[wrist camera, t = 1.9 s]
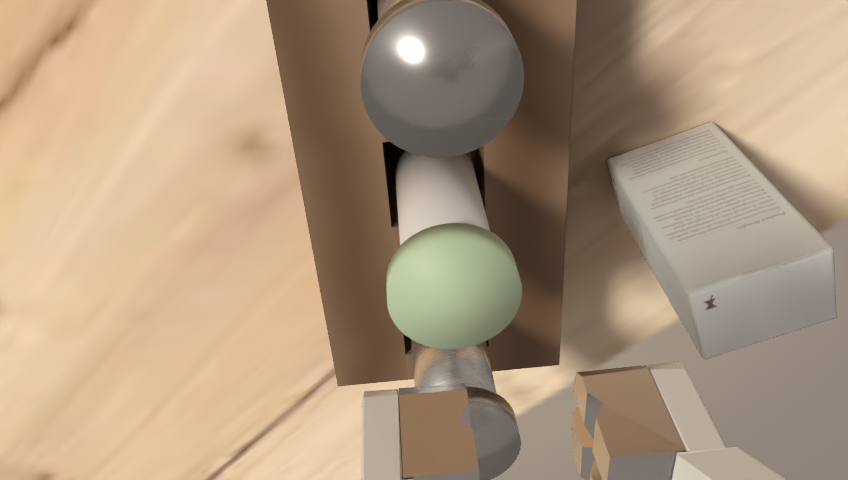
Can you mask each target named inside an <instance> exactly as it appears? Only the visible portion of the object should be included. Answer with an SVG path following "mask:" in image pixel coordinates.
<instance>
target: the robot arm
mask: <svg viewBox="0 0 848 480" xmlns="http://www.w3.org/2000/svg"><path fill="white" fill-rule="evenodd" d="M574 394H575V397H576V400H577V404H578V407H577V408H576V409H575V410H574V411H573V413H572V438H573V448H574V453H575V457H576V462H577V465H578V469H579V473H580V476H581V477H582V478H584V479H585V480H786V479H784V478H783V477H781V476H779V475H778V474H777V473H775V472H774V471H772V470H771V469H769V468H768V467H766V466H765V465H763V464H762V463H760V462H759V461H757V460H756V459H754V458H753V457H751V456H750V455H748V454H747V453H745V452H744V451H742V450H741V449H740V448H738V447H732V448H727V447H726V445H725V443H724V442H723V440H722V437H721V435H720V434H719V432H718V430H717V428H716V426H715V424H714V422H713V420H712V419H711V416H710V415H709V413H708V411H707V409H706V407H705V405H704V403H703V401H702V399H701V397H700V396H699V394H698V392H697V390H696V388H695V386H694V384H693V382H692V380H691V378H690V376H689V375H688V373H687V371H686V369H685V367H684V366H683V365H682V364H681V363H679V362H671V363H661V364H652V365H645V366H633V367H624V368H614V369H605V370H595V371H586V372H577V374H576V376H575V381H574ZM362 480H479V467H478V460H477V453H476V447H475V440H474V433H473V429H472V428H471V427H470V413H469V401H468V395H467V389H466V384H454V385H440V386H426V387H412V388H399V391H398V389H394V390H380V391H365V392H364V394H363V399H362Z"/></svg>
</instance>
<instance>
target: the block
mask: <svg viewBox="0 0 848 480" xmlns="http://www.w3.org/2000/svg"><path fill="white" fill-rule="evenodd" d="M266 1H267V7H268V12H269V18H270V23H271V28H272V34H273V39H274V44H275V50H276V55H277V61H278V66H279V71H280V77H281V82H282V88H283V93H284V98H285V104H286V109H287V114H288V120H289V125H290V131H291V136H292V141H293V147H294V152H295V157H296V163H297V168H298V174H299V179H300V184H301V190H302V195H303V200H304V206H305V211H306V217H307V222H308V227H309V233H310V238H311V244H312V249H313V254H314V260H315V265H316V270H317V276H318V281H319V287H320V292H321V297H322V303H323V308H324V313H325V319H326V324H327V330H328V335H329V340H330V346H331V351H332V357H333V362H334V367H335V373H336V378H337V383H338V386H346V385H356V384H366V383H377V382H387V381H397V380H408V379H414V369H413V356H412V343H411V339H410V338H409V337H407V336H406V335H404V334H403V333H402V332H401V331H400V330H399V329H398V328H397V326H396V325H395V324H394V322H393V320H392V319H391V316H390V314H389V311H388V306H387V287H386V274H387V269H388V265H389V262H390V260H391V258H392V256H393V255H394V253H395V252H396V250H397V249H398V248H399V247H400V237H399V223H398V209H397V194H396V180H395V170H396V166H390V167H388V160H387V151H386V142H390V141H389V140H387V139H386V138H385V137H384V136H383V135H382V134H381V133H380V132H379V131H378V130H377V129H376V127H375V126H374V124H373V123H372V121H371V120H370V118H369V116H368V114H367V112H366V109H365V106H364V103H363V99H362V94H361V58H362V53H363V48H364V45H365V42H366V40H367V37H368V35H369V33H370V31H371V30H372V28H373V26H374V25H375V24H376V22H377V21H378V17H372V11H371V2H370V0H266ZM481 1H483V2H485V3H486V4H487V5H489V6H490V7H491V8H493V9H494V10H495V11H496V12H497V13H498V14H499V16H500V17H501V18H502V19H503V21H504V22H505V23H506V25H507V27H508V29H509V31H510V32H511V34H512V36H513V38H514V40H515V42H516V44H517V46H518V48H519V51H520V54H521V57H522V62H523V67H524V86H523V92H522V96H521V100H520V102H519V105H518V108H517V110H516V112H515V114H514V116H513V117H512V119H511V120H510V122H509V123H508V124H507V126H506V127H505V128H504V129H503V130H502V131H501V132H500V133H499V134H498V135H497V136H496V137H495V138H494V139H492V140H491V141H490V142H488V143H487V144H485V145H484V146H482V147H480V148H478V149H476V150H474V151H471V152H470V158H471V160H472V163H473V167H474V171H475V175H476V179H477V182H478V186H479V190H480V194H481V198H482V202H483V206H484V210H485V213H486V217H487V221H488V225H489V229H490V231H491V232H492V233H494V234H495V235H497V236H498V237H499V238H501V239H502V240H503V241H504V242H505V244H506V245H507V246H508V247H509V249H510V250H511V252H512V254H513V257H514V259H515V263H516V266H517V270H518V273H519V276H520V280H521V284H522V299H521V303H520V306H519V309H518V311H517V313H516V315H515V317H514V318H513V320H512V321H511V322H510V323H509V325H508V326H507V327H506V328H504V329H503V330H502V331H501V332H500V333H498V334H497V335H496V336H494V337H492V338H491V339H489V340H487V341H486V345H487V350H488V355H489V360H490V365H491V370H492V371H501V370H511V369H521V368H532V367H542V366H552V365H559V356H560V335H561V315H562V294H563V274H564V253H565V232H566V212H567V191H568V170H569V150H570V129H571V109H572V88H573V67H574V47H575V26H576V5H577V0H481Z"/></svg>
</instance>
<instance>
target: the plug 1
mask: <svg viewBox="0 0 848 480" xmlns="http://www.w3.org/2000/svg"><path fill="white" fill-rule="evenodd" d="M377 5H378V21H377V22H376V24H375V25H374V26H373V28H372V30H371V31H370V33H369V35H368V37H367V40H366V42H365V45H364V48H363V53H362V58H361V94H362V99H363V103H364V106H365V109H366V112H367V114H368V116H369V118H370V120H371V121H372V123H373V124H374V126H375V127H376V129H377V130H378V131H379V132H380V133H381V134H382V135H383V136H384V137H385V138H386V139H387V140H389V141H390V142H391V143H393V144H394V145H396V146H397V147H399V148H401V149H403V150H405V151H407V152H410V153H413V154H416V155H420V156H425V157H433V158H447V157H454V156H459V155H462V154H466V153H469V152H471V151H474V150H476V149H478V148H480V147H482V146H484V145H485V144H487V143H488V142H490V141H491V140H492V139H494V138H495V137H496V136H497V135H498V134H499V133H500V132H501V131H502V130H503V129H504V128H505V127H506V126H507V124H508V123H509V122H510V120H511V119H512V117H513V116H514V114H515V112H516V110H517V108H518V105H519V102H520V100H521V96H522V92H523V86H524V67H523V62H522V57H521V54H520V51H519V48H518V46H517V44H516V42H515V40H514V38H513V36H512V34H511V32H510V31H509V29H508V27H507V25H506V23H505V22H504V21H503V19H502V18H501V17H500V16H499V14H498V13H497V12H496V11H495V10H494V9H493V8H491V7H490V6H489V5H487V4H486V3H485V2H483V1H481V0H377Z"/></svg>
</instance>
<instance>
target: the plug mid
mask: <svg viewBox="0 0 848 480" xmlns="http://www.w3.org/2000/svg"><path fill="white" fill-rule="evenodd" d="M395 180H396V194H397V209H398V223H399V237H400V247H399V248H398V249H397V250H396V252H395V253H394V255H393V256H392V258H391V260H390V262H389V265H388V269H387V274H386V287H387V306H388V311H389V314H390V316H391V319H392V320H393V322H394V324H395V325H396V326H397V328H398V329H399V330H400V331H401V332H402V333H403V334H404V335H406V336H407V337H409V338H410V339H412V340H414V341H416V342H417V343H420V344H423V345H425V346H429V347H433V348H439V349H460V348H466V347H470V346H474V345H477V344H480V343H483V342H485V341H487V340H489V339H491V338H492V337H494V336H496V335H497V334H498V333H500V332H501V331H502V330H503V329H504V328H506V327H507V326H508V325H509V323H510V322H511V321H512V320H513V318H514V317H515V315H516V313H517V311H518V309H519V306H520V303H521V299H522V284H521V280H520V276H519V273H518V270H517V266H516V263H515V259H514V257H513V254H512V252H511V250H510V249H509V247H508V246H507V245H506V244H505V242H504V241H503V240H502V239H501V238H499V237H498V236H497V235H495V234H494V233H492V232H491V231H490V229H489V225H488V221H487V217H486V213H485V210H484V206H483V202H482V198H481V194H480V190H479V186H478V182H477V179H476V175H475V171H474V167H473V163H472V160H471V158H470V156H469V154H468V153H466V154H462V155H459V156H454V157H447V158H433V157H425V156H420V155H416V154H413V153H410V152H407V151H404V152H403V154H402V155H401V156H400V158H399V160H398V162H397V165H396V170H395Z"/></svg>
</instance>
